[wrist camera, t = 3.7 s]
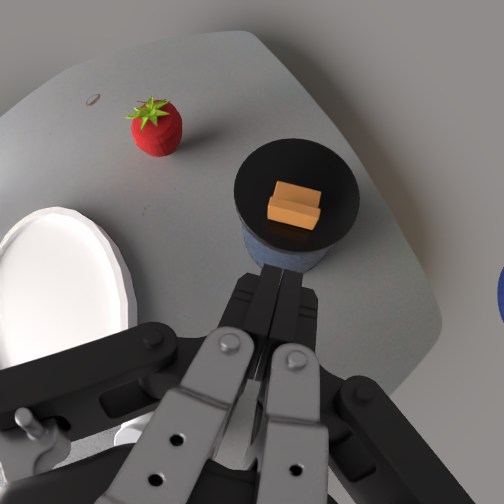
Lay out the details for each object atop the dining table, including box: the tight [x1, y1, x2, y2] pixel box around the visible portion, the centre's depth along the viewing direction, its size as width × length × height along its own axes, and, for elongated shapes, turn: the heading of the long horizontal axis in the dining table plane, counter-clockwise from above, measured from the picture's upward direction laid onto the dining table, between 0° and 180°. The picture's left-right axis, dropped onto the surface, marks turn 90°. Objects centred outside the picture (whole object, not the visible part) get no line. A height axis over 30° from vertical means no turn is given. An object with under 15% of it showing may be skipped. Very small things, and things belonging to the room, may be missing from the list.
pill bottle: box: [114, 410, 155, 446], centre depth 22 cm, size 5×5×10 cm
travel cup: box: [234, 138, 360, 276], centre depth 26 cm, size 9×9×11 cm
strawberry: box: [125, 96, 182, 157], centre depth 30 cm, size 6×8×10 cm
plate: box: [0, 207, 137, 370], centre depth 28 cm, size 28×28×2 cm
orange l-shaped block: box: [268, 181, 321, 230], centre depth 19 cm, size 3×3×2 cm
